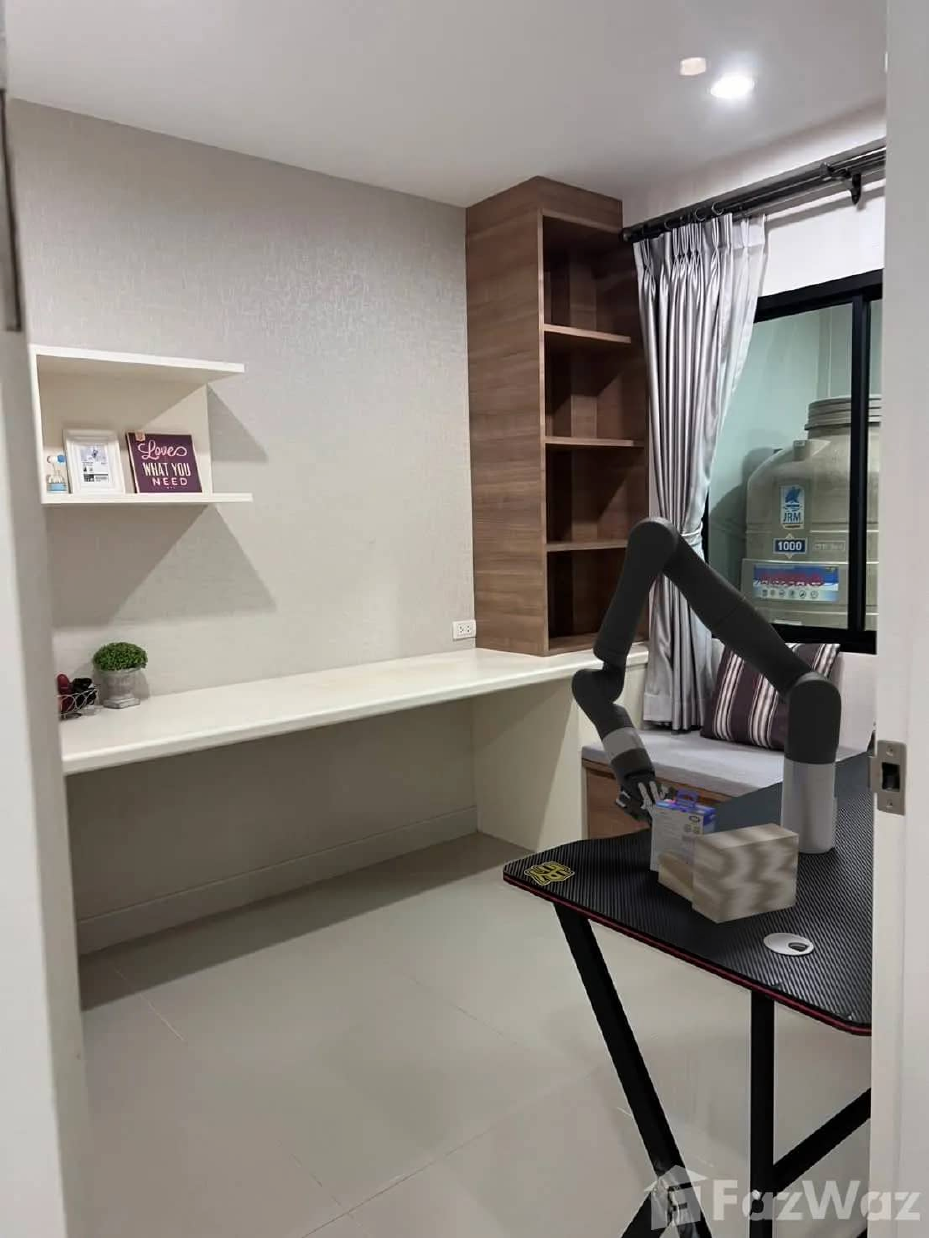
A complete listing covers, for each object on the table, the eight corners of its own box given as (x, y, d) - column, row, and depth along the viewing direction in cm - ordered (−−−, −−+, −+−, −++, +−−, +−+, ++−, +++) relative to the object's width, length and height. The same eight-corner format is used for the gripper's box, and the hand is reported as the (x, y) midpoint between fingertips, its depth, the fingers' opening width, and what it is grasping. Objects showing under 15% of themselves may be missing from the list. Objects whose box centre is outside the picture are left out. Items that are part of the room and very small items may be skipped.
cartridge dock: (724, 868, 166) (727, 803, 164) (795, 905, 150) (798, 834, 149) (651, 883, 159) (653, 815, 157) (717, 923, 144) (720, 848, 142)
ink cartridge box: (714, 874, 163) (718, 795, 161) (701, 884, 158) (704, 802, 157) (663, 861, 169) (665, 784, 167) (649, 870, 164) (651, 791, 163)
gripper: (606, 750, 173) (642, 834, 163) (664, 743, 178) (703, 824, 168) (590, 770, 178) (624, 853, 168) (647, 762, 183) (683, 843, 174)
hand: (663, 838), depth 168 cm, fingers closed
